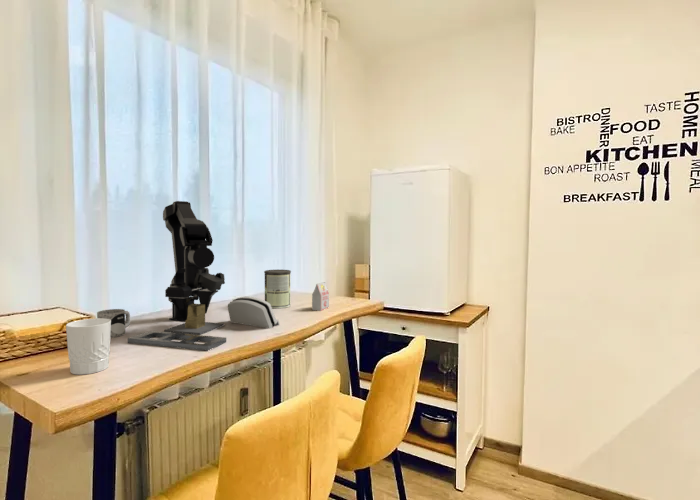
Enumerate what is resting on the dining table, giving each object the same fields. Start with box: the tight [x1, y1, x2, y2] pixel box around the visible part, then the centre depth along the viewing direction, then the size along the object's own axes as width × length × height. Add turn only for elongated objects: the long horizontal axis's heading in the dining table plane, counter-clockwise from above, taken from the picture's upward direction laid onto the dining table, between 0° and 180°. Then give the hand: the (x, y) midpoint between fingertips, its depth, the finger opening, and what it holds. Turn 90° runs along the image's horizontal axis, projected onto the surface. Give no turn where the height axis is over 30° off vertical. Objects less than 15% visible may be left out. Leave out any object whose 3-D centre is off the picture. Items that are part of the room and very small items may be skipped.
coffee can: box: [263, 269, 292, 310], centre depth 153 cm, size 10×10×14 cm
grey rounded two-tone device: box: [227, 296, 280, 329], centre depth 123 cm, size 17×5×10 cm, turn 62°
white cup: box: [65, 317, 112, 376], centre depth 82 cm, size 8×8×10 cm
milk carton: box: [311, 282, 330, 312], centre depth 149 cm, size 4×7×10 cm, turn 157°
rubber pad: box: [163, 321, 225, 335], centre depth 117 cm, size 12×12×1 cm
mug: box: [96, 308, 131, 338], centre depth 111 cm, size 10×7×7 cm
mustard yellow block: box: [184, 303, 206, 329], centre depth 117 cm, size 4×4×6 cm
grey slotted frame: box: [127, 330, 227, 352], centre depth 102 cm, size 24×8×1 cm, turn 75°
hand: (195, 316), depth 117 cm, fingers open, 9 cm apart
